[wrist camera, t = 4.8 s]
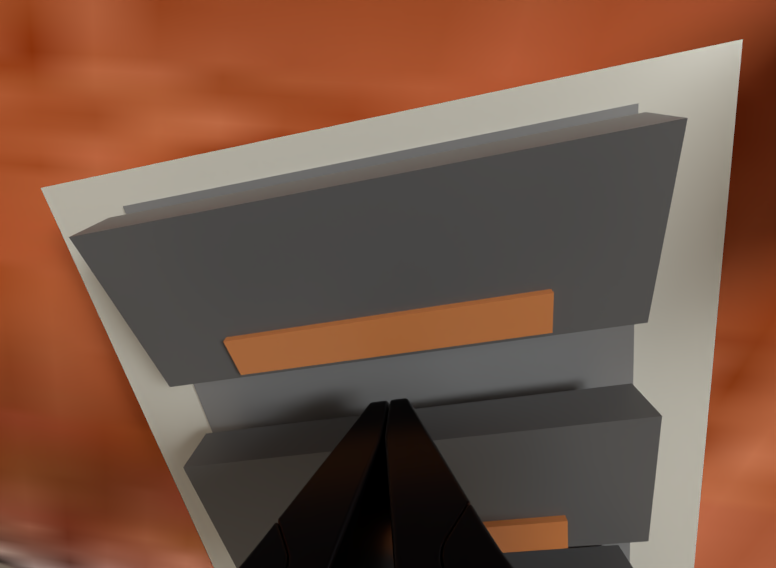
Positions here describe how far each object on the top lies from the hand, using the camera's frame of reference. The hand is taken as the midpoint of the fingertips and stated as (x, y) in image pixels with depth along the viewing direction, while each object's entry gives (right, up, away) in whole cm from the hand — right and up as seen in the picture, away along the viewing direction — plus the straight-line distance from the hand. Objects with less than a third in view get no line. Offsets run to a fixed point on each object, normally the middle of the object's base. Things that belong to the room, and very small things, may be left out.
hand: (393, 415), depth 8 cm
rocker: (0, +4, 0) cm, 4 cm away
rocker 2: (+1, -2, +2) cm, 3 cm away
